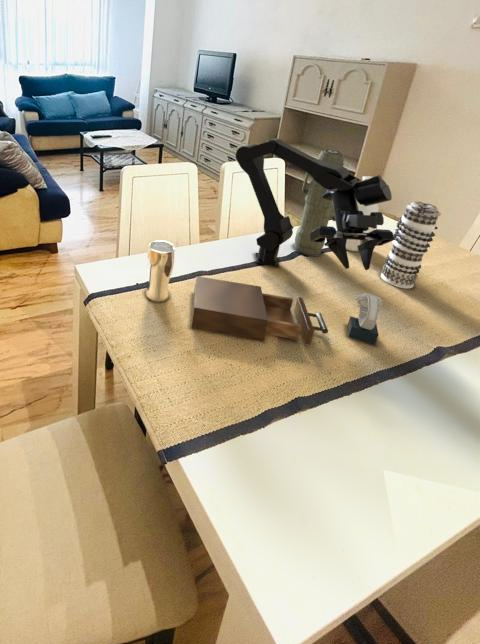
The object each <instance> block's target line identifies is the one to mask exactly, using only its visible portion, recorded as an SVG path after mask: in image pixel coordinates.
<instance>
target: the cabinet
mask: <svg viewBox="0 0 480 644" xmlns="http://www.w3.org/2000/svg"><path fill="white" fill-rule="evenodd" d="M262 293H263V290H262V286H260V285H256V284H255V285H253V284H248V283H242V282H237V281H229V280H223V279H216V278H211V277H205V276H199V275H196V276H195V283H194V290H193V299H192V313H191V329H194V330H200V331H205V332H209V333H215V334H220V335H226V336H233V337H237V338H243V339H248V340H253V341H259V342H264V339H265V335H266V334H265V331H266V326H267V322H268V319H267V314H266V309H265V304H264V300H263V295H262Z"/></svg>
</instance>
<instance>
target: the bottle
mask: <svg viewBox="0 0 480 644" xmlns="http://www.w3.org/2000/svg"><path fill="white" fill-rule="evenodd" d="M372 177H373V176H369V175H363V176H362V180H366V179H369V178H372ZM357 205H358V210H359V211H362V212H363V214H364V215H370V213H371V212H379V203H378V204H374V205H370V206H364V205H363V204H362V205H360V204H359V203H358V202H357ZM368 228H369V227H368ZM373 230H375V229H373V228H369V230H367V231H363V233H369V232H371V231H373ZM358 245H360V240H350V239H347V241H346V251H351V252H359V251H358V247H357V246H358Z"/></svg>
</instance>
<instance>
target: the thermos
mask: <svg viewBox="0 0 480 644" xmlns="http://www.w3.org/2000/svg"><path fill="white" fill-rule="evenodd" d="M344 156H345V155H344V153H343V152H342V151H341V150H337V149H331V148H325V149H322V150H321V151H320V153H319V154H318V156H317V158H316V159H318V160H321V161H326V162H331V163H334V164H338V165H341V166H343V167H344V165H345V164H344V161H345V157H344ZM345 168H346V167H345ZM346 169H347V170H348V168H346ZM348 173H350V172H349V171H348ZM309 176H310V175H309V174H308V173H307V172H305V175H304V180H303V185H302V190H301V193H303V194H304V195H305V196H304V201H305V204H304V208H303V212H302V215H301V220H300V225H299V226H298V228H297V230H296V232H295V237H294V243H293V249H294V250H295V251H296V252H298V253H300V254H302V255H305V256H309V257H319V256H320V255H321V254H322V250H323V248H324V247H325V245H324V243H326V239H325V240H324V241H323V242H322V243H319V242H311V239H310V234H311V232H312V231H313V230H315V229H316V228H318V227H319V226H328V224H329V221H330V217H331V213H332V210H333V205H332V200H331V201H329V200H327V199H325V198H323V195H324V194H325V193H326V192H327V190H328V189H325V188H324V187H322V186H321V185H320V184H318V183H317V182H316V181H314V179H313V178H312V177H311V180H310V182H308V180H309ZM307 183H308V185H307ZM306 187H307V188H306ZM335 190H338V189H333V190H331V191H335Z"/></svg>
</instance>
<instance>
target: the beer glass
mask: <svg viewBox="0 0 480 644" xmlns="http://www.w3.org/2000/svg"><path fill="white" fill-rule="evenodd" d="M175 251H176V247H175V245H174V244H173V243H171V242H170V241H167V240H162V239H160V240H159V239H158V240H153V241H151V242H150V243H149V245H148V252H147V258H146V270H147V279H148V283H147V287H146V290H145V296H146V297H147V298H148V299H149V300H150V301H153V302H157V303H158V302H160V303H161V302H164V301H166V300H167V299H169V282H170V279H171V276H172V273H173V270H174V264H175V253H176V252H175Z"/></svg>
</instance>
